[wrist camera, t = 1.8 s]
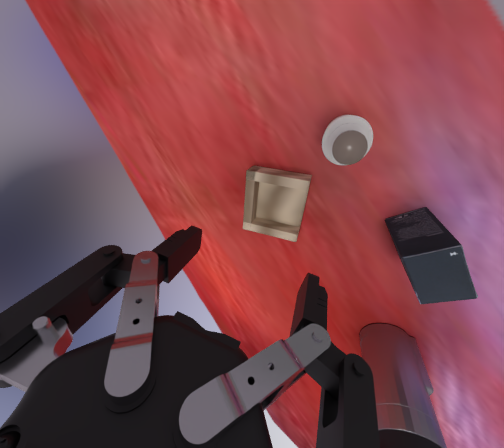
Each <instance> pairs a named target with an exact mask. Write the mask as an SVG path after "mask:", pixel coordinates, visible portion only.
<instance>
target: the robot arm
mask: <svg viewBox="0 0 504 448" xmlns="http://www.w3.org/2000/svg"><path fill="white" fill-rule="evenodd" d="M201 237H202V229H200V228H197V227H195V226H190V227H189V228H188V229H187V230H183V229H182V230H180V231H177V232H175V233H174V234H173V235H171V237H169V238H167V240H165V241H164V242H162V243H161V244H160V245H159V246H157V247H156V248H155V249H153V250H152V251H143V252H140V253H138V254H137V255H131V254H124V253H122V249H121V248H120V247H119V246H115V245H108V246H104V247H102V248H100V249H98V250H97V251H95V252H93V253H92V254H90V255H89V256H87V257H86V258H84V259H83V260H81V261H80V262H78V263H77V264H75V265H74V266H72V267H71V268H69V269H68V270H66V271H64V272H63V273H61V274H60V275H58V276H57V277H55V278H54V279H52V280H51V281H49V282H48V283H46V284H45V285H43V286H42V287H40V288H39V289H37V290H35V291H34V292H32V293H31V294H29V295H28V296H26V297H25V298H24V299H22V300H20V301H19V302H17V303H16V304H14V305H13V306H11V307H10V308H8V309H7V310H5V311H3V312H2V313H0V388H6V387H10V386H15V387H17V388H19V389H21V390H23V391H25V392H26V393H25V394H24V396H23V398H22V400H21V401H20V403H19V404H18V406H17V407H16V409H15V410H14V411H13V413H12V414H11V416H10V417H9V418H8V419H7V421H6V422H5V423H4V424H3V425H2V427H1V428H0V448H273V447H272V443H271V439H270V435H269V431H268V428H267V424H266V420H265V415H264V412H263V411H264V410H265V409H266V408H267V407H269V406H270V405H271V404H272V403H273V402H274V401H276V400H277V399H278V398H279V397H280V396H281V395H282V394H283V393H284V392H285V391H286V390H287V389H288V388H290V387H291V386H292V385H293V384H294V383H295V382H297V381H298V380H299V379H300V378H301V377H303V376H304V375H305V374H306V373H307V374H308V375H310V376H311V377H312V378H313V379H314V380H315V381H316V382H317V383H318V384H319V385H320V386H321V387H322V389H321V400H320V410H319V421H318V432H317V443H316V448H447V447H446V444H445V441H444V438H443V435H442V432H441V429H440V426H439V423H438V420H437V417H436V414H435V411H434V409H433V406H432V403H431V400H430V397H429V396H430V395H431V394H432V393H433V387H432V384H431V382H430V379H429V376H428V373H427V370H426V368H425V365H424V362H423V359H422V357H421V354H420V351H419V348H418V346H417V343H416V340H415V338H413V337H410V336H409V335H408V334H407V333H406V332H405V331H403V330H402V329H400V328H398V327H396V326H393V325H389V324H381V323H378V324H371V325H368V326H366V327H364V328H363V329H362V330H361V332H360V345H361V352H362V358H361V357H360V356H358V355H356V354H348V355H346V354H345V353H343V352H342V351H341V350H340V349H338V348H337V347H336V346H335V345H334V344H333V343H332V342H331V339H330V336H329V334H328V332H327V298H328V295H327V292H326V290H325V288H324V287H322V286H319V277H318V276H315V275H313V274H310V273H308V274H307V275H306V277H305V279H304V281H303V283H302V285H301V287H300V289H299V292H298V295H297V300H296V305H295V310H294V316H293V321H292V327H291V332H290V337H289V338H288V339H286V340H284V341H283V340H282V339H281V340H279V341H277V342H275V343H274V344H272V345H271V346H269V347H267V348H266V349H264V350H263V351H261V352H259V353H258V354H256V355H255V356H253V357H252V358H250V359H248V357H247V356H246V354H245V353H244V352H243V351H242V350H241V349H240V348H239V345H240V341H238V340H236V339H234V338H232V337H230V336H228V335H225V334H222V333H217V332H211V331H207V330H205V329H204V328H202V327H201V326H200V325H199V324H198V323H197V322H196V321H195V320H194V319H192V318H191V317H188V316H186V315H184V314H182V313H180V312H178V311H177V313H176V314H175V315H174V316H169V315H164V316H158V307H159V284H160V283H161V282H162V281H164V282H166V283H169V282H170V281H171V280H172V279H173V278H174V277H175V276H176V275H177V274H178V273H179V272H180V271H181V270H182V268H183V267H184V266H185V265H186V264H187V263H188V262H189V261H190V260H191V259H192V258H193V257H194V256H195V255H196V254H197V252H198V251H199V249H200V246H201ZM122 288H125V291H124V296H123V301H122V306H121V311H120V316H119V321H118V325H117V330H116V333H114V334H111V335H109V336H106V337H104V338H101V339H99V340H96V341H94V342H91V343H89V344H86V345H84V346H81V347H79V348H76V349H74V350H71V351H69V352H67V353H65V352H66V349H67V348H68V347H69V346H70V344H71V342H72V340H73V334H74V333H75V332H76V331H77V330H78V329H79V328H80V327H81V326H82V325H84V324H85V323H86V322H87V321H88V320H89V319H90V318H91V317H92V316H93V315H94V314H95V313H96V312H97V311H98V310H99V309H101V308H102V307H103V306H104V305H105V304H106V303H107V302H108V301H109V300H110V299H111V298H112V297H113V296H115V295H116V294H117V293H118V292H119V291H120V290H121V289H122Z"/></svg>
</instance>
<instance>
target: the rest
mask: <svg viewBox="0 0 504 448" xmlns="http://www.w3.org/2000/svg"><path fill="white" fill-rule="evenodd" d="M311 177H312V175H308V174H302V173H296V172H290V171H284V170H278V169H272V168H266V167H260V166H252V167H251V168H249V169H248V170H247V172H246V188H245V203H244V219H243V229H246V230H250V231H254V232H258V233H262V234H266V235H270V236H274V237H278V238H282V239H286V240H290V241H294V242H296V241H297V237H298V234H299V230H300V225H301V221H302V216H303V212H304V207H305V203H306V199H307V194H308V190H309V185H310V181H311Z"/></svg>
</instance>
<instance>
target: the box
mask: <svg viewBox="0 0 504 448" xmlns="http://www.w3.org/2000/svg"><path fill="white" fill-rule="evenodd" d="M385 222H386V225H387V227H388V229H389V232H390V234H391V237H392V239H393V242H394V244H395V247H396V249H397V252H398V255H399V257H400V259H401V262H402V264H403V266H404V269H405V271H406V273H407V275H408V278H409V280H410V282H411V285H412V287H413V289H414V291H415V294H416V296H417V298H418V300H419V302H420V304H428V303H438V302H447V301H456V300H467V299H476V298H477V297H478V295H477V293H476V291H475V288H474V285H473V282H472V279H471V276H470V272H469V269H468V266H467V263H466V259H465V255H464V251H463V247H462V245H461V244H460V243H459V242H458V241H457V240H456V238H455V237H454V236H453V235H452V234H451V233H450V232H449V231H448V230H447V229H446V228H445V227H444V226H443V224H442V223H441V222H440V221H439V220H438V219H437V218H436V217H435V216H434V215H433V214H432V212H431V211H430V210H429V209H428V208H427V207H424V208H421V209H418V210H414V211H411V212H407V213H404V214H401V215H397V216H394V217H391V218H387V219H385Z"/></svg>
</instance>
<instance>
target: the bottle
mask: <svg viewBox="0 0 504 448" xmlns="http://www.w3.org/2000/svg"><path fill="white" fill-rule="evenodd" d="M372 142H373V131H372V128H371V126H370V124H369V123H368V122H367V121H366V120H365V119H364V118H362V117H359V116H355V115H341V116H338V117H336V118H335V119H333V120H332V121H331V122H330V123H329V125H328V126H327V128H326V131H325V133H324V135H323V139H322V150H323V153H324V155H325V157H326V158H327V159H328V160H329V161H330V162H332V163H334V164H337V165H351V164H354V163H356V162H358V161H360V160H361V159H362V158H363V157H364V156H365V155H366V154H367V153H368V151H369V149H370V148H371V145H372Z"/></svg>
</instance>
